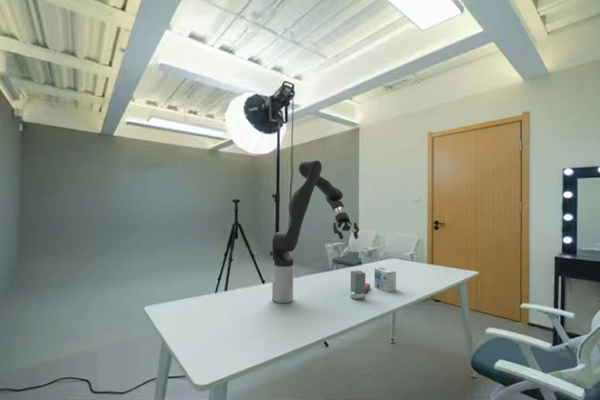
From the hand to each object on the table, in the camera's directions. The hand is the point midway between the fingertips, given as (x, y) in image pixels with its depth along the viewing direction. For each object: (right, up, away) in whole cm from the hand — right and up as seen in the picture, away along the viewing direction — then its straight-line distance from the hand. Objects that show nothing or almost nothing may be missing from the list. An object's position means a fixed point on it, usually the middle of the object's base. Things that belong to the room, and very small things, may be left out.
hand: (349, 238), depth 154 cm
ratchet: (+6, -29, -4) cm, 30 cm away
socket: (+2, -26, -11) cm, 28 cm away
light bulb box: (+21, -29, +6) cm, 36 cm away
